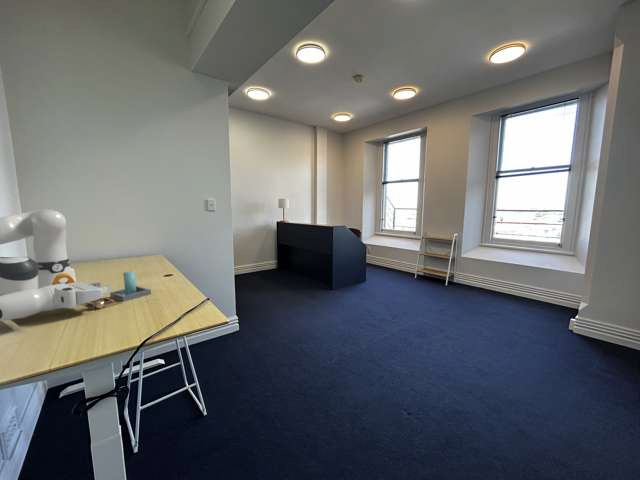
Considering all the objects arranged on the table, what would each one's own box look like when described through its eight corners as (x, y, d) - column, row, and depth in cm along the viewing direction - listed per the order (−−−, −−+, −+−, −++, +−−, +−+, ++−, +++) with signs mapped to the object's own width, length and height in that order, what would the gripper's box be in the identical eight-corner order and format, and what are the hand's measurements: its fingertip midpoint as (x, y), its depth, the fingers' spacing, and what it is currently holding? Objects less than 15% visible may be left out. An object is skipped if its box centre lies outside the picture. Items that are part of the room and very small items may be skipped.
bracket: (47, 307, 104) (44, 278, 102) (47, 303, 108) (44, 275, 107) (83, 301, 111) (80, 274, 110) (82, 297, 116) (79, 271, 115)
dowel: (123, 297, 114) (121, 272, 113) (133, 294, 117) (131, 270, 116) (128, 298, 112) (126, 274, 111) (138, 295, 116) (136, 272, 114)
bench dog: (93, 308, 100) (92, 302, 99) (102, 306, 102) (102, 300, 102) (97, 310, 98) (96, 303, 98) (106, 307, 101) (105, 301, 101)
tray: (110, 299, 113) (110, 292, 112) (138, 292, 122) (137, 285, 122) (123, 304, 107) (123, 296, 107) (151, 296, 117) (150, 289, 117)
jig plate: (79, 306, 105) (79, 301, 104) (106, 299, 112) (105, 295, 112) (95, 313, 98) (95, 308, 98) (122, 305, 106) (122, 300, 106)
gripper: (49, 299, 99) (94, 289, 111) (72, 309, 89) (118, 297, 101) (47, 283, 98) (93, 275, 110) (70, 291, 89) (117, 281, 101)
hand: (105, 285), depth 106 cm, fingers open, 8 cm apart
